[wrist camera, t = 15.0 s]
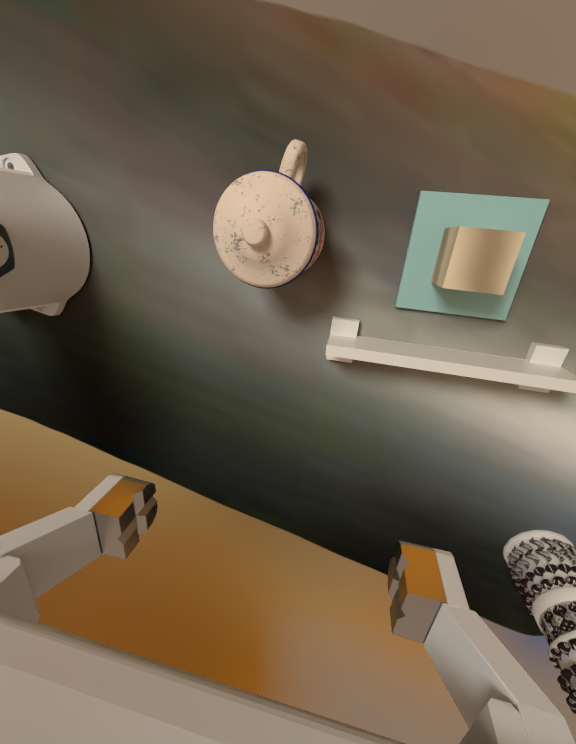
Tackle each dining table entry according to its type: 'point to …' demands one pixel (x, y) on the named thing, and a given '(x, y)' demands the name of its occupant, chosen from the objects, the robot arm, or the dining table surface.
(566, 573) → the decorative candle
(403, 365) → the divider wall
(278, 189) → the teacup with lid
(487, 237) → the maple block
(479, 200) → the pad
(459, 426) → the dining table surface
